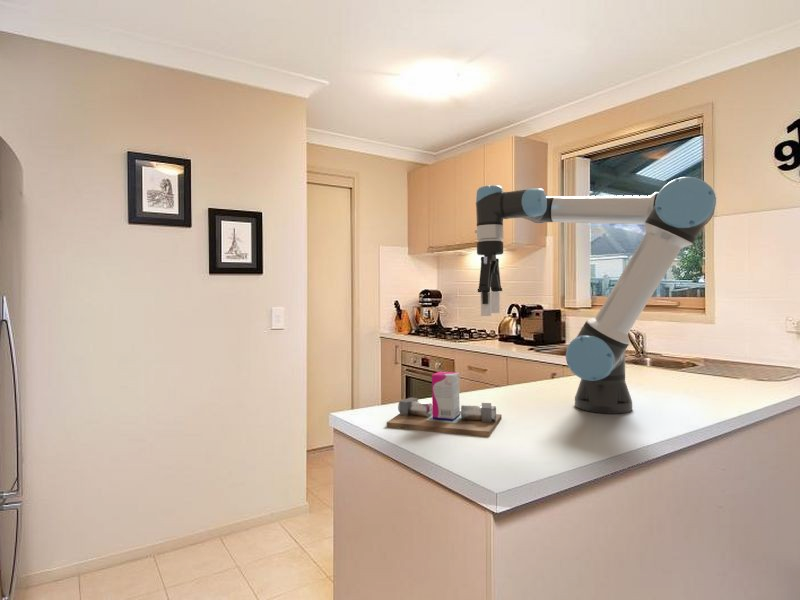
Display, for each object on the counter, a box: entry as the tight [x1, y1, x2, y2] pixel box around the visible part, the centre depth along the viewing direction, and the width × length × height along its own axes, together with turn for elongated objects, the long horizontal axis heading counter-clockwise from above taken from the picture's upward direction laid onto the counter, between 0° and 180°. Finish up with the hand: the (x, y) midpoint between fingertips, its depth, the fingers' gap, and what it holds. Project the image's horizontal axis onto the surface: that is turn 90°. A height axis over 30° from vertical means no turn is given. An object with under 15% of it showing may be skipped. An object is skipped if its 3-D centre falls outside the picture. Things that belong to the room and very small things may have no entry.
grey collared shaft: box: [460, 402, 497, 423], centre depth 125 cm, size 9×5×4 cm, turn 80°
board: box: [386, 410, 503, 438], centre depth 128 cm, size 26×16×1 cm, turn 68°
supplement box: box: [431, 371, 461, 421], centre depth 127 cm, size 6×6×12 cm
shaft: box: [397, 397, 433, 417], centre depth 131 cm, size 9×5×4 cm, turn 57°
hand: (490, 314), depth 143 cm, fingers open, 13 cm apart
